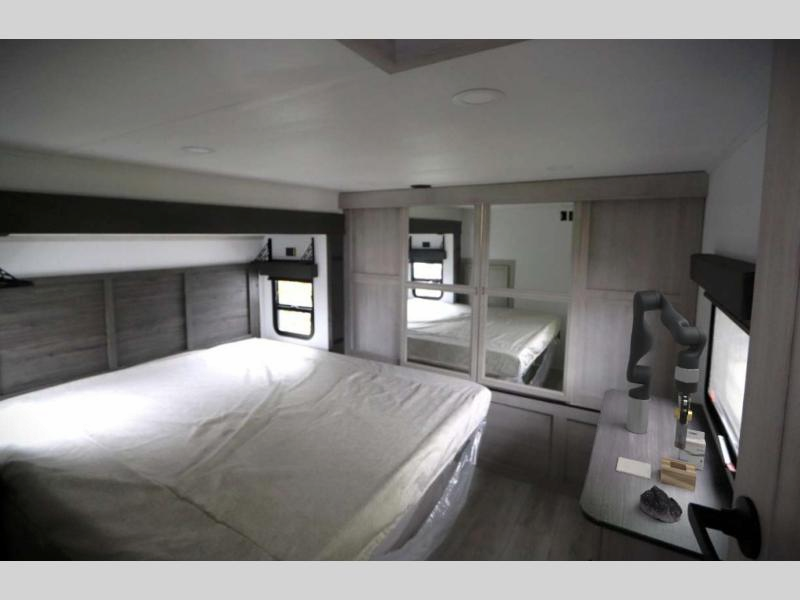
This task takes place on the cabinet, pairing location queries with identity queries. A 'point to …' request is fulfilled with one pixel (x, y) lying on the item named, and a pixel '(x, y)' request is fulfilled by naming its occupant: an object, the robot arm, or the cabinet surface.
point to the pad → (634, 468)
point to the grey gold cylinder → (681, 429)
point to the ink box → (694, 449)
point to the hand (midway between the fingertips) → (682, 420)
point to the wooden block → (678, 473)
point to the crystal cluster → (660, 505)
